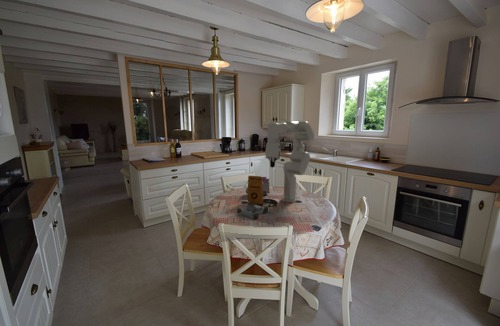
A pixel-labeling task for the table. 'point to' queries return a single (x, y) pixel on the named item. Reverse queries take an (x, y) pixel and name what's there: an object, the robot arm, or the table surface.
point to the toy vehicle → (265, 186)
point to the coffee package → (255, 190)
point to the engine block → (251, 208)
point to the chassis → (249, 214)
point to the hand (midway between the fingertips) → (272, 167)
